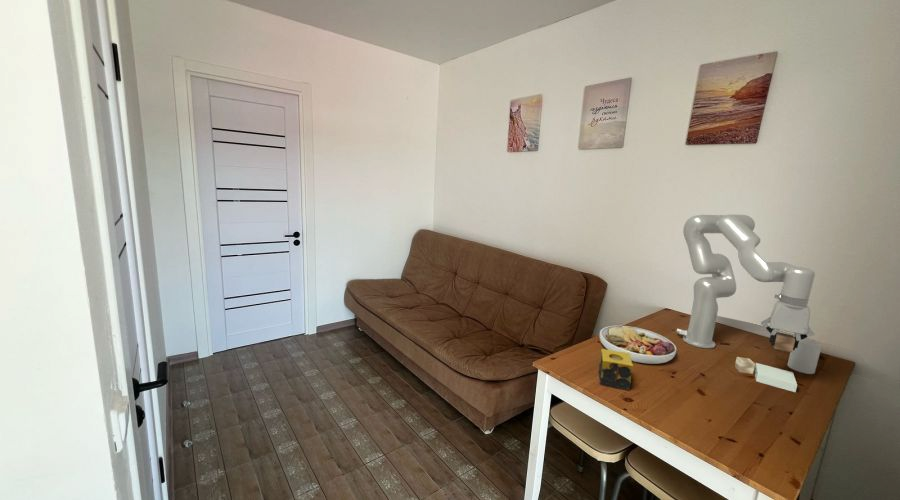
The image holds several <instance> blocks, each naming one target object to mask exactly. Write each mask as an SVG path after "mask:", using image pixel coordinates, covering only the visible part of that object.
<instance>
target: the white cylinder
mask: <svg viewBox="0 0 900 500" xmlns="http://www.w3.org/2000/svg"><path fill="white" fill-rule="evenodd" d="M822 347H823V344H822V343H821V342H819V341H817V340H814V339H810V338H808V337H807V338H804V339H802V340H801V341H799V343H798V347H797V348H795V350H793V351H792V352H789V357H788V362H787V367H788V368H790V369H791V370H794V371H796V372H799V373H802V374H806V375H807V374H808V375H813V374H815V373H816V369H817V366H818V362H819V358H820V354H821V351H822Z"/></svg>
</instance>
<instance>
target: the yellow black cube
mask: <svg viewBox="0 0 900 500" xmlns="http://www.w3.org/2000/svg"><path fill="white" fill-rule="evenodd" d="M633 368H634V364H633V361H631V357H630V353H625V352H618V351H612V350H608V349H606V348H601V350H600V359H599V365H598V380H600V381H599V385H600V384H601V385H600V386H603V385H604V387H608V388H609V387H610V388H614V389H620V390H624V391H630V389H631V383H632V381H631V380H632V374H633Z"/></svg>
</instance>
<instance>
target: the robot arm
mask: <svg viewBox="0 0 900 500" xmlns="http://www.w3.org/2000/svg"><path fill="white" fill-rule="evenodd" d="M755 223H756V222H755V221H754V218H752V217H751V216H749V215H747V214H726V215H725V214H696V215H693V216H690V218H688V219H687V220H686V221H685V222H684V226H683V232H682V233H683V237H684V240H685V242H686V244H687V248H688V253H689V256H690V257H689V258H690V262H691V266H692V269H693V270H694V272H695V273H696V274H698V275H711V276H705V277H701V278H698V279H697V280H696V281H695V282H694V283H693V301H692V302H693V303H692V308H691V314H690V318H689V323H688V328H687V329H682V328H676V333H677V334H678V335H681V336H682V340H683V341H684V342H685V343H687V345H688V344H689V345H691V346H693V347H698V348H701V349H714V348H715V347H716V343H715V341H714V340H713V337H714V333H715V327H716V321H717V318H718V312H719V305H718V301H717V299H719V298H720V299H721V298H722V299H723V298H730V297H731V296H734V295H735V293H736V292H737V283H736V279H735V275H734V270H733V267H732V264H731V262H730V260H729V258H728V257H727V256H725V255H724V254H721V253H713V251H712V248H711V244H710V241H709V240H708V239H707V237H706V236H705V235H704V234H722V235H723V236H724V237H725V239H727V241H728V242H729V243H730V244H731V245H732V246H733V247H734V248H735V249H736V250H737V256H738V257H737V258H738V261H739V263H740V265H741V267H742V268H743V269H744V270H745V271H746V272H747V273H748V274H749V275H750V276H751V277H752V279H754V280H756V281H757V282H761V283H782V286H781V291H780V294H774V298H775V299H776V300H777V301H776V302H775V303H774V305H773V307H772V310H771V313H770V317H767V318H766V319H764V320H763V321H761V322H760V325H761V326H763V327H764V328H765V329H766V331H767V332H768V333H770V336H769V339H768V340H769V343H771V346H774V344H775V340H776V333H777V332H779V331H783V332H789V333H793V334H794V338H795V343H794V347H793V350H795V348H797V347H798V343H799V341H801V340H802V339H804V338H807V339H808V338H809V337H813V336H815V332H814V331H813V330H812V329H811V327H810V326H809V324H810V316H811V307H810V306H808V303H809V300H810V295H811V292H812V289H813V285H814V284H813V283H814V279H815V275H816V273H815V271H814V270H813V269H810V268H807V267H802V266H796V265H793V264H791V263H789V262H782V261H776V262H775V261H772V262H771V261H769V262H767V261H765V259H763V258H762V257H761V256H760V255H759V254H758V252H757V250H756V248H757V247H758V246H759V245H760V243H761V238H760V237H759V235H758V234H756V233H755V232H754V229H755V227H756V224H755ZM768 324H769V325H768Z"/></svg>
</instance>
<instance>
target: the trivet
mask: <svg viewBox="0 0 900 500" xmlns="http://www.w3.org/2000/svg"><path fill="white" fill-rule="evenodd" d="M753 372H754V375H755V381H756V382H758V383H760V384H765V385H768V386H772V387H774V388H779V389H783V390H786V391H790V392H793V393H796V392H797V388H798V384H797V383H798V382H797V381H796V378H795V375H794V372H793V371H789V370H786V369H785V370H784V369H781V368H778V367H773V366H770V365H767V364H762V363H758V362H755V367H754V371H753Z"/></svg>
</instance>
